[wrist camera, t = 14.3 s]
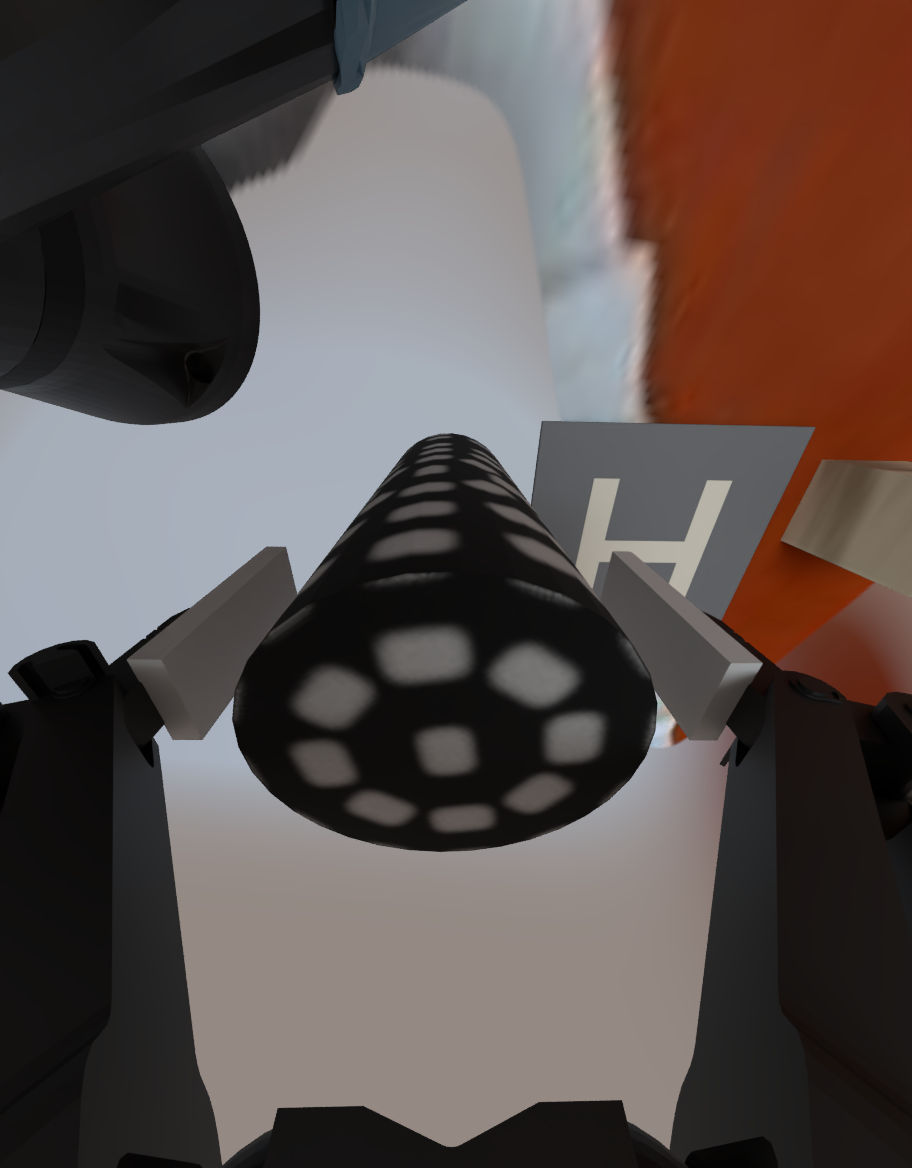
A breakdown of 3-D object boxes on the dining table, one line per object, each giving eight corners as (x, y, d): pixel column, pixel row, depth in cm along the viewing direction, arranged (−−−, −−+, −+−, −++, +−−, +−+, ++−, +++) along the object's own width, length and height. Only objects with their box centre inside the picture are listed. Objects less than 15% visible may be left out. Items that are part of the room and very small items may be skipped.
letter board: (513, 640, 31) (514, 642, 31) (541, 420, 22) (543, 421, 22) (707, 641, 31) (710, 643, 31) (811, 426, 23) (816, 427, 22)
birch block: (780, 540, 27) (919, 601, 19) (822, 459, 24) (1007, 492, 16) (854, 541, 27) (1023, 602, 19) (905, 461, 24) (1130, 494, 16)
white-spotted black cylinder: (509, 542, 26) (630, 837, 9) (404, 555, 27) (317, 863, 9) (502, 424, 22) (700, 536, 5) (378, 443, 23) (135, 607, 5)
